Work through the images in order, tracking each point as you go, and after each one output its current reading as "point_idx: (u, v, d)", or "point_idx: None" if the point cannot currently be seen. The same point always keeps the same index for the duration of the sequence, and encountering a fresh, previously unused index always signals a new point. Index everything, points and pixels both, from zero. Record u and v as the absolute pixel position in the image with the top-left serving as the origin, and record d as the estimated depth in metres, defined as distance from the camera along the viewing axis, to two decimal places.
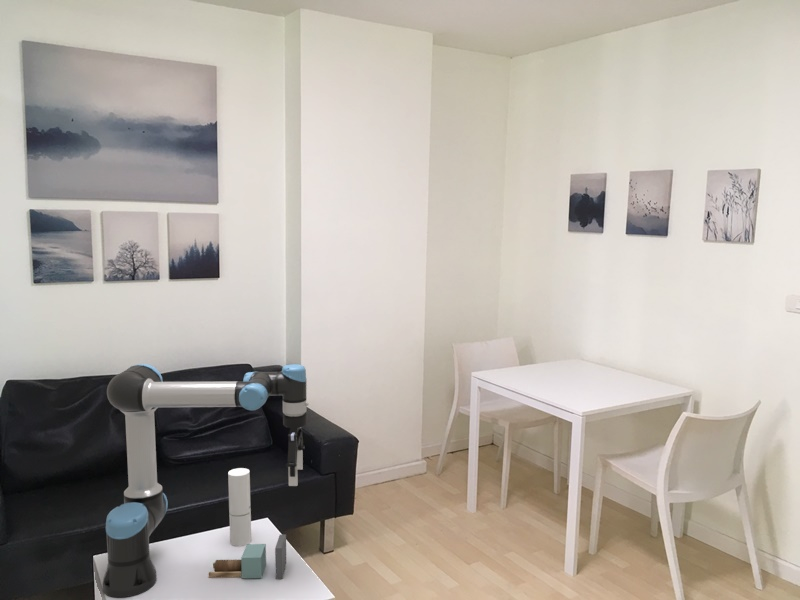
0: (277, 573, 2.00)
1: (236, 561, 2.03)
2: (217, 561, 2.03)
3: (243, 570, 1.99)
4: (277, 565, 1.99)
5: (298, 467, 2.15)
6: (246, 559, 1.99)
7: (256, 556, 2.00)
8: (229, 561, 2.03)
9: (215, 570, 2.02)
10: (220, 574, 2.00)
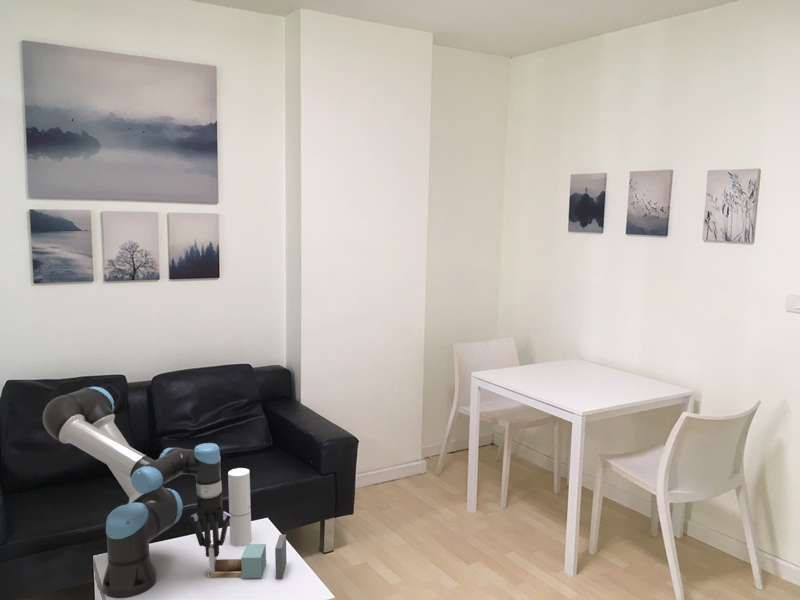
0: (277, 573, 2.00)
1: (236, 560, 2.04)
2: (217, 560, 2.04)
3: (243, 570, 1.99)
4: (277, 565, 1.99)
5: None
6: (246, 559, 1.99)
7: (256, 556, 2.00)
8: (229, 560, 2.03)
9: (215, 569, 2.02)
10: (220, 574, 2.00)
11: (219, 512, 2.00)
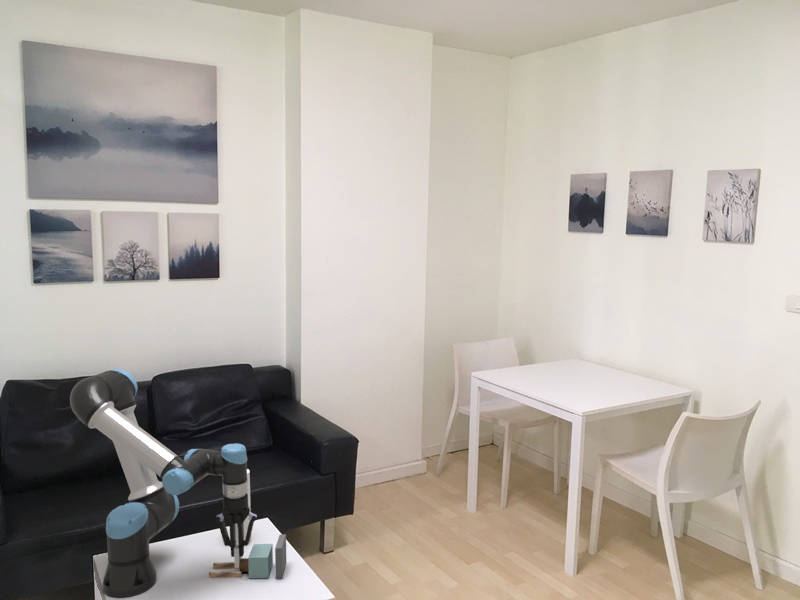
0: (277, 573, 2.00)
1: None
2: (242, 559, 2.04)
3: (250, 570, 1.99)
4: (277, 565, 1.99)
5: None
6: (253, 558, 1.99)
7: (263, 556, 2.00)
8: None
9: (240, 567, 2.02)
10: (220, 574, 2.00)
11: (245, 512, 2.01)
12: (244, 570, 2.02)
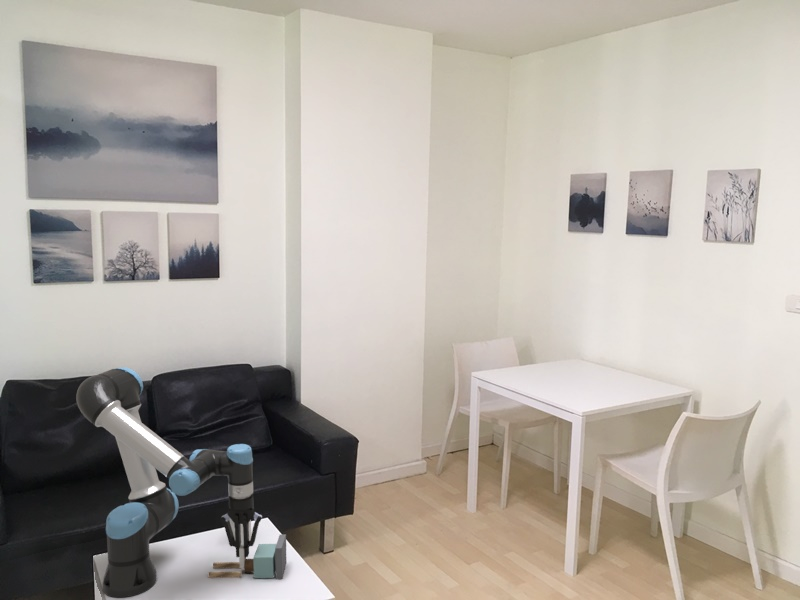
0: (277, 573, 2.00)
1: None
2: (247, 559, 2.04)
3: (255, 570, 1.99)
4: (277, 565, 1.99)
5: None
6: (259, 558, 1.99)
7: (268, 556, 2.00)
8: None
9: (245, 568, 2.02)
10: (220, 574, 2.00)
11: (250, 513, 2.01)
12: (249, 570, 2.03)
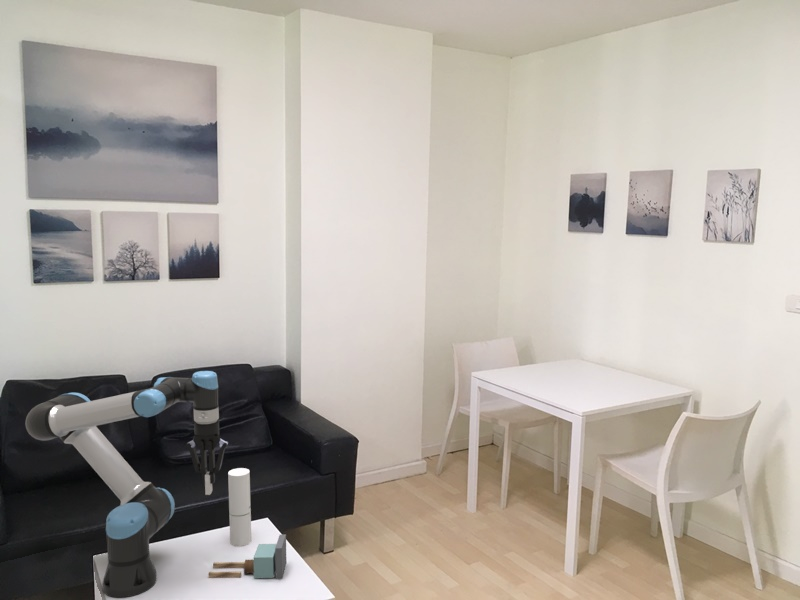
0: (277, 573, 2.00)
1: None
2: (246, 561, 2.03)
3: (255, 570, 1.99)
4: (277, 565, 1.99)
5: None
6: (259, 558, 1.99)
7: (268, 556, 2.00)
8: None
9: (245, 570, 2.02)
10: (220, 574, 2.00)
11: (216, 439, 2.02)
12: (249, 572, 2.02)
